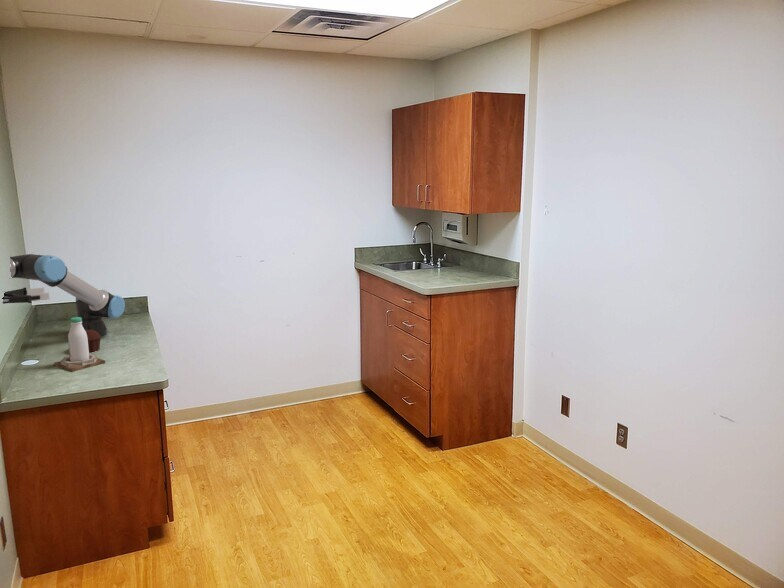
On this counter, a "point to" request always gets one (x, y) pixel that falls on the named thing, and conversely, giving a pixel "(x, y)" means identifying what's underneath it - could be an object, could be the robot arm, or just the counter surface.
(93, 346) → the muffin
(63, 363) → the ring stand
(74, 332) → the milk bottle
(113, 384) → the counter surface
